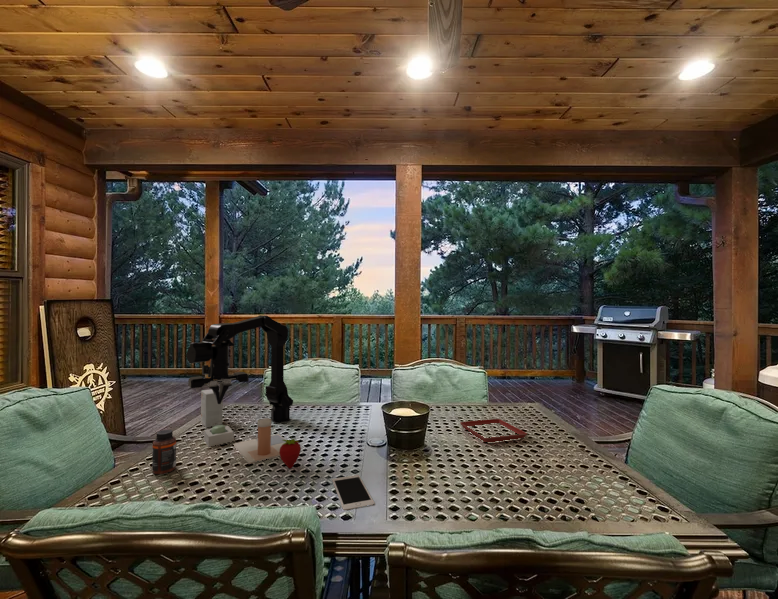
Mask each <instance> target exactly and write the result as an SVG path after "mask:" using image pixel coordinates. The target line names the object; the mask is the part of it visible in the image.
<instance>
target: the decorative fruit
mask: <svg viewBox="0 0 778 599" xmlns="http://www.w3.org/2000/svg"><path fill="white" fill-rule="evenodd" d="M287 435H288V436H289V437H290V438H291V439H285V440H283V441H286V443H284V444H283V445H282V446H281V447H280V452H279V453H280V456H279V457H280V459H281V461H282V462H283V463H284V465H285V466H286V467H287V468H288V469H293V467H294V465H295V464H296V462H297V461H298V458H299V457H300V454H301V451H302V448H301V444H300V441H299V440H296V438H293V437H292V436H291V434H287Z"/></svg>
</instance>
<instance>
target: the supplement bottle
mask: <svg viewBox="0 0 778 599" xmlns="http://www.w3.org/2000/svg"><path fill="white" fill-rule="evenodd" d="M173 434H174V433H173V430H172V429H162V430H159V431H157V432H156V436H155V437H156V438H155V440H153V441H152V450H151V453H152V456H151V457H152V458H151V459H152V460H151V461H152V462H151V463H152V464H151V467H152V473H153V474H154V475H165V474H169V473H171V472H172V471H173V472H174V471H175V469H176V468H177V438H176V437H175V436H173ZM168 472H169V473H168Z"/></svg>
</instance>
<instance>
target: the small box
mask: <svg viewBox="0 0 778 599" xmlns="http://www.w3.org/2000/svg"><path fill="white" fill-rule="evenodd" d="M219 391H220V389H219ZM200 392H201V394H200V395H201V396H200V423H201V424H202V425H203V427H205V428H210V427H211V426H212V427H214V426H217V425H223V409H224V408H223V407H224V405H223V401H224V400H223V399H224V398H223V399H222V402H221V404H217V401H216V398H215V395H214V393H213V391H212V389H211V388H209V389H204V390H201V391H200Z"/></svg>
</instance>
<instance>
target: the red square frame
mask: <svg viewBox="0 0 778 599" xmlns="http://www.w3.org/2000/svg"><path fill="white" fill-rule="evenodd" d="M459 423H460V425H461V427H462V428H463V429H464V428H465V429H466V430H468V431H469V432H471V433H472V434H473V435H475V436H476V437H478V438H480V439H481V440H483V441H484V442H495V441H503V440H510V439H518V438H523V439H524V438H526V436H527V435H528V433H527V432H525V431H523V430H522V429H520V428H518V427H516V426H514V425H511V424H510V423H508V422H506V421H504V420H502V419H500V418H493V419H492V418H491V419H490V418H489V419H479V420H469V421H460V422H459ZM490 423H500V424H501V425H503V426H505V427H507V428H508V429H510V430H512V431H514V432H515V433H517V434H519V435H509V436H500V437H491V438H484V437H483V436H481V435H480V434H478V433H477V432H475V431H473V430H472V429H470V428H468V427H467V426H475V425H482V424H490ZM465 429H464V430H465ZM466 430H465V431H466ZM473 435H472V436H473ZM476 437H475V438H476ZM478 438H477V439H478ZM481 440H480V441H481ZM484 442H483V443H484Z"/></svg>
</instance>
